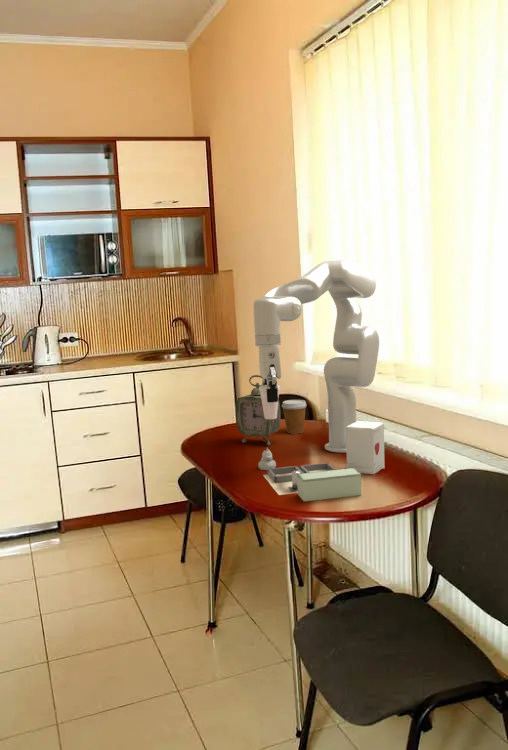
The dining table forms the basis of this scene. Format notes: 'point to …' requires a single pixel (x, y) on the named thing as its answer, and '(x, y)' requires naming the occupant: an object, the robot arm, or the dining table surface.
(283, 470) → the socket
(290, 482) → the board
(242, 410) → the tabletop clock
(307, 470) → the socket
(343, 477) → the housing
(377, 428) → the supplement box
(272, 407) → the smoothie
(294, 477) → the pin
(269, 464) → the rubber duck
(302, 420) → the disposable coffee cup
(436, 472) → the dining table surface
